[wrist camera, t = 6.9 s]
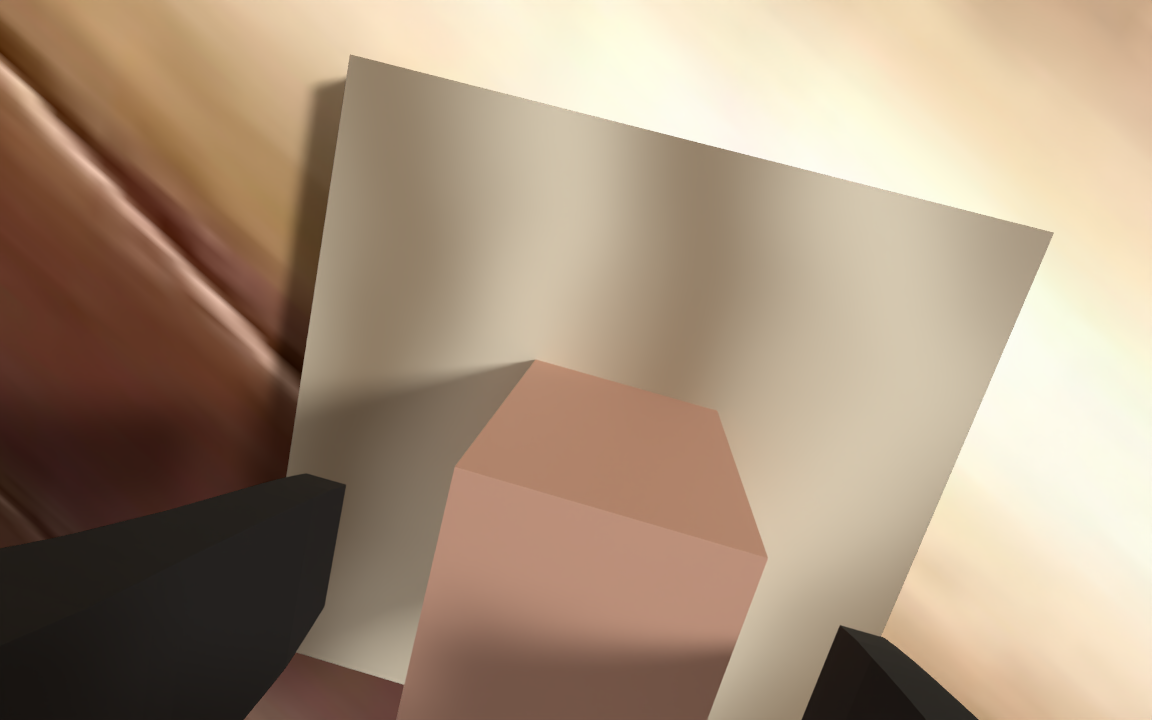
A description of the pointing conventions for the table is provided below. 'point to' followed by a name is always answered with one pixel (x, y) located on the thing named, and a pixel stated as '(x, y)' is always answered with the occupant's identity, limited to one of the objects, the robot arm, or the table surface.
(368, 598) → the board
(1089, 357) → the table surface
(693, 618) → the block
